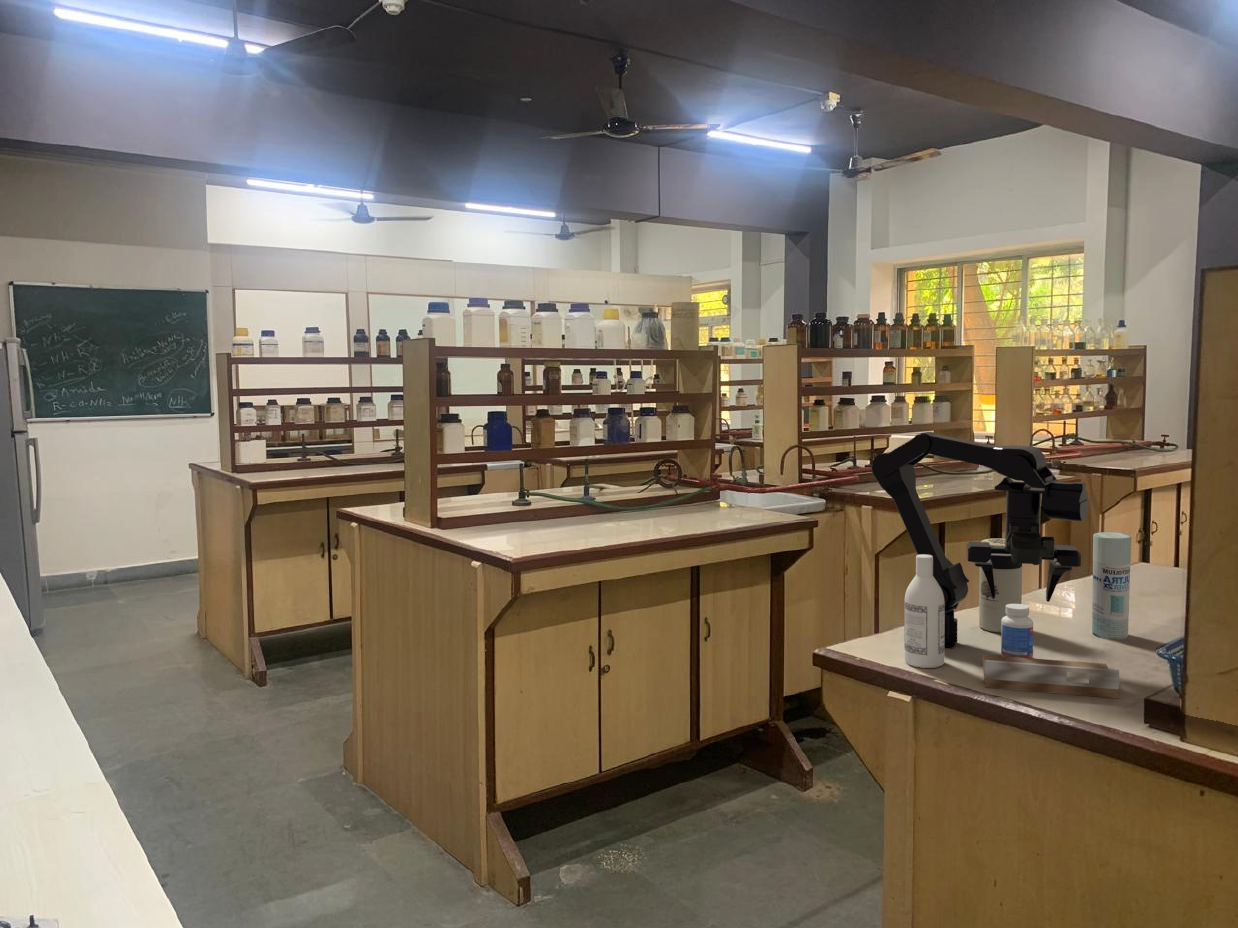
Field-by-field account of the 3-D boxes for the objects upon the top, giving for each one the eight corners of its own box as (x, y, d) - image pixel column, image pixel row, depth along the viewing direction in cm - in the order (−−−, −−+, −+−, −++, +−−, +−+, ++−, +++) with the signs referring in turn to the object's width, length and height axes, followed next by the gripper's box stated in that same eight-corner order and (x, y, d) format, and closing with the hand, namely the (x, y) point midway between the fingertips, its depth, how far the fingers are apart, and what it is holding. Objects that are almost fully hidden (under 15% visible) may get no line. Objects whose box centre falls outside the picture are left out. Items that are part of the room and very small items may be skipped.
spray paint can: (1117, 629, 182) (1119, 531, 179) (1135, 639, 175) (1138, 537, 173) (1084, 630, 182) (1086, 532, 180) (1101, 640, 175) (1104, 538, 173)
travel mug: (1003, 621, 190) (1004, 536, 188) (1030, 631, 182) (1031, 543, 181) (970, 625, 188) (971, 539, 186) (996, 635, 180) (996, 546, 179)
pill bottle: (1036, 663, 164) (1036, 610, 163) (1004, 662, 165) (1005, 609, 164) (1028, 653, 169) (1029, 602, 168) (998, 652, 170) (998, 602, 169)
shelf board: (985, 687, 152) (985, 661, 152) (982, 662, 165) (982, 638, 164) (1119, 698, 145) (1119, 671, 145) (1105, 671, 158) (1106, 646, 157)
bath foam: (934, 655, 170) (934, 550, 168) (951, 667, 163) (951, 558, 161) (898, 658, 169) (898, 553, 167) (914, 670, 162) (914, 560, 160)
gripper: (971, 522, 159) (969, 608, 161) (1088, 525, 154) (1085, 615, 156) (966, 511, 170) (964, 592, 172) (1076, 514, 164) (1073, 598, 166)
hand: (1020, 599), depth 166 cm, fingers open, 9 cm apart
